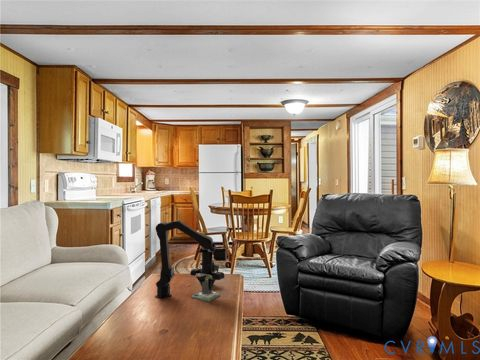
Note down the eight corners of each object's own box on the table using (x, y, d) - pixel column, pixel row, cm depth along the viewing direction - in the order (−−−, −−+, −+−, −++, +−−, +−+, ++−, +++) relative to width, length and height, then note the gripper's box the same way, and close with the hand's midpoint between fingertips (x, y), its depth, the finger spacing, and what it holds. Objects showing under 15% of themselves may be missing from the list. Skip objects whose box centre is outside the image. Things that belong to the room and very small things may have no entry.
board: (208, 301, 180) (208, 297, 180) (191, 297, 185) (191, 293, 185) (219, 295, 188) (219, 291, 188) (203, 292, 194) (203, 288, 194)
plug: (208, 294, 184) (208, 282, 183) (202, 292, 186) (202, 280, 186) (212, 292, 187) (212, 280, 187) (206, 290, 189) (206, 278, 189)
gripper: (230, 259, 188) (230, 288, 188) (202, 255, 198) (202, 283, 198) (218, 264, 179) (218, 294, 179) (189, 259, 188) (189, 288, 188)
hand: (207, 289), depth 186 cm, fingers closed on plug, 4 cm apart
